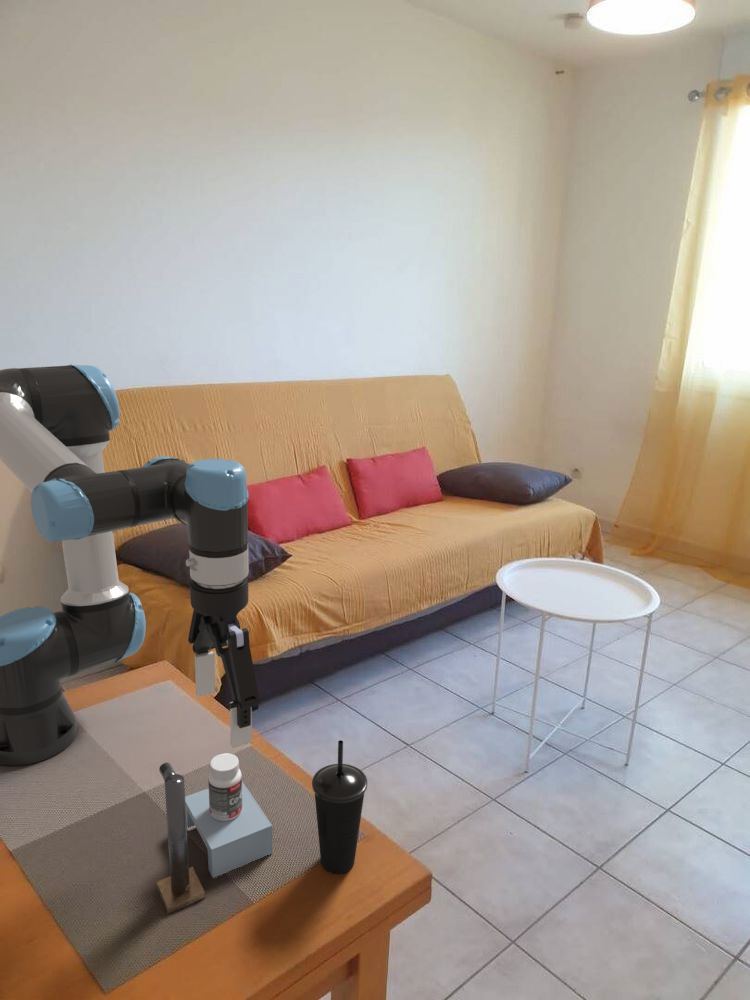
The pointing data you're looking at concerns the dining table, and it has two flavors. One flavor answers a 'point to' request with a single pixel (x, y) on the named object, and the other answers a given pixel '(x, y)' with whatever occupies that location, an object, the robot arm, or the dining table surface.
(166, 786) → the hook post
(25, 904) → the dining table surface
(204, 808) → the light blue boxy piece
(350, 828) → the drinking cup
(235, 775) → the pill bottle
